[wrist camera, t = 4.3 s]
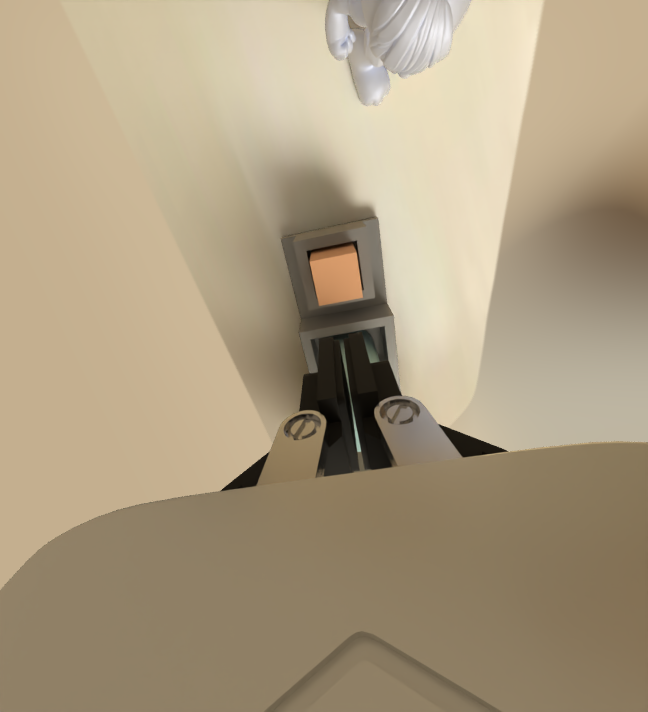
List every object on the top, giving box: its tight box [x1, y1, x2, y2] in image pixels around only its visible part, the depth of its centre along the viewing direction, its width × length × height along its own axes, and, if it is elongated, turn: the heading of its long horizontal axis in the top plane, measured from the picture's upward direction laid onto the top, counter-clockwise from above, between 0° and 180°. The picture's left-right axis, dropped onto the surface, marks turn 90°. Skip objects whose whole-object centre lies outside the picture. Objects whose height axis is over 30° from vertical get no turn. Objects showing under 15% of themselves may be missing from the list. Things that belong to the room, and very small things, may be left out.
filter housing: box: [281, 217, 401, 392], centre depth 28 cm, size 15×8×4 cm, turn 11°
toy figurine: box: [325, 0, 471, 106], centre depth 15 cm, size 7×6×12 cm
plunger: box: [310, 241, 363, 306], centre depth 24 cm, size 3×3×5 cm
